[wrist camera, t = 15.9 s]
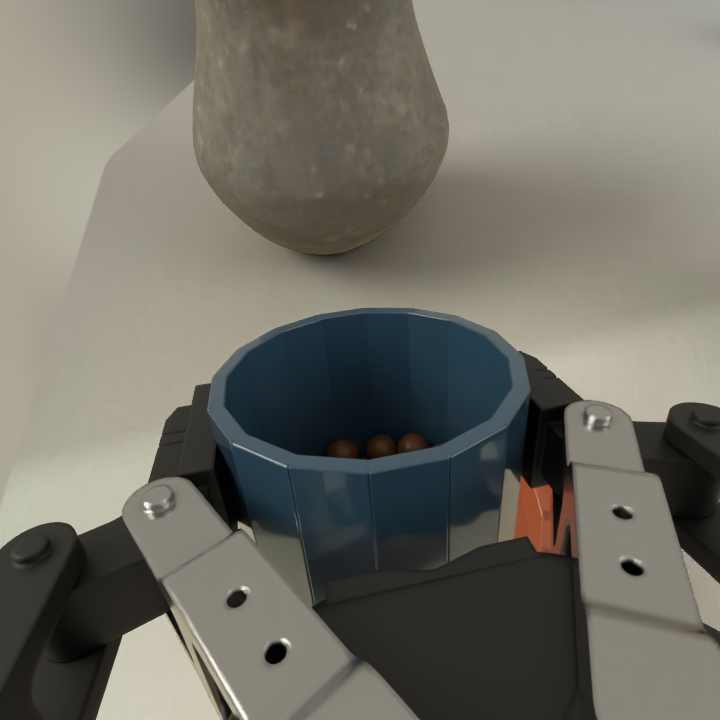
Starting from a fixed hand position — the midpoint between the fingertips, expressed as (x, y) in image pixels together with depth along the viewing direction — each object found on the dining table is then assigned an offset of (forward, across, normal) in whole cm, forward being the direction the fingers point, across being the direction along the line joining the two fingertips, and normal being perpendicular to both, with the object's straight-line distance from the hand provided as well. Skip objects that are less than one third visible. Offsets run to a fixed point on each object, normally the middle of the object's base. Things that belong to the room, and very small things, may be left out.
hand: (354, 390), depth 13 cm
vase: (+34, -4, +3) cm, 35 cm away
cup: (-2, 0, +6) cm, 6 cm away
